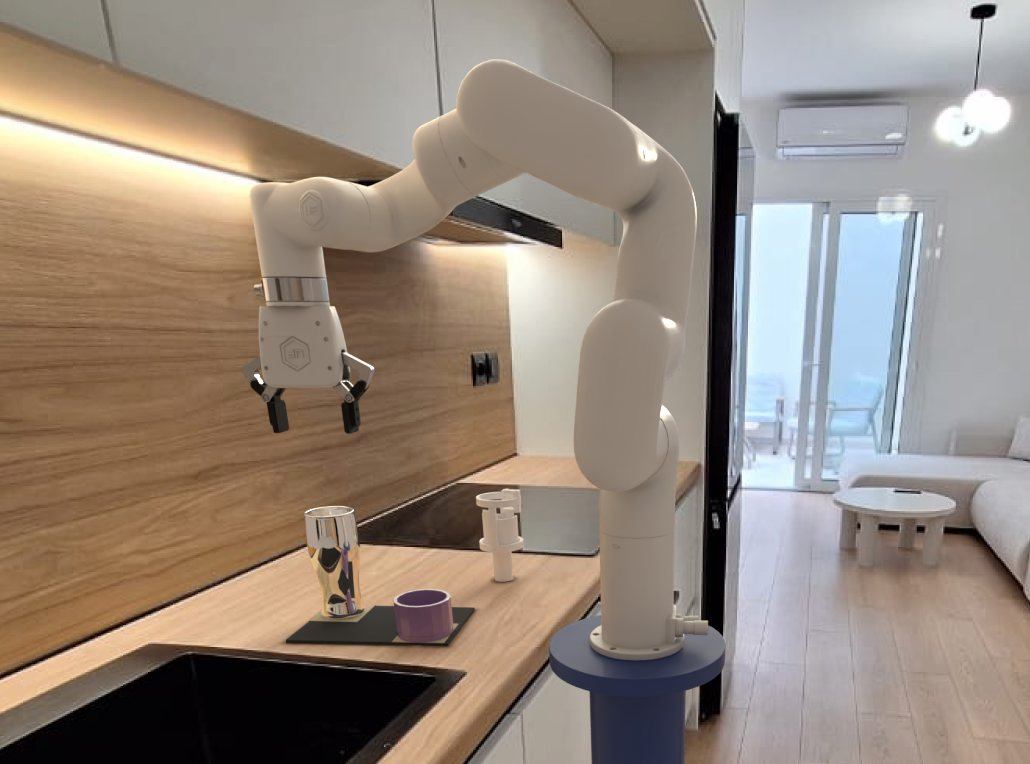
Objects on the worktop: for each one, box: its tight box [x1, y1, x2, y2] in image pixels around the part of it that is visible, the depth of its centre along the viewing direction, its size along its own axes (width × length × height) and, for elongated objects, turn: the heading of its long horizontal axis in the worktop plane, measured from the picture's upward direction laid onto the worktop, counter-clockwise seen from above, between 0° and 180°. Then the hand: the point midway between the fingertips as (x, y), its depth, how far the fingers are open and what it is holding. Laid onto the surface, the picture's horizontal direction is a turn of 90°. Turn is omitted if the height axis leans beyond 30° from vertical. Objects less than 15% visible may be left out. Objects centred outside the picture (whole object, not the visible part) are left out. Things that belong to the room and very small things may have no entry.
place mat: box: [285, 604, 476, 647], centre depth 114 cm, size 22×14×1 cm, turn 87°
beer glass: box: [303, 505, 366, 620], centre depth 115 cm, size 7×7×15 cm
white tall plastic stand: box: [475, 488, 525, 583], centre depth 131 cm, size 7×7×15 cm
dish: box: [392, 588, 453, 642], centre depth 109 cm, size 7×7×5 cm
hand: (316, 432), depth 108 cm, fingers open, 9 cm apart
